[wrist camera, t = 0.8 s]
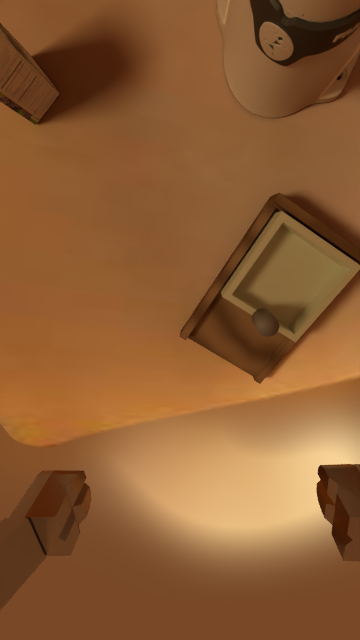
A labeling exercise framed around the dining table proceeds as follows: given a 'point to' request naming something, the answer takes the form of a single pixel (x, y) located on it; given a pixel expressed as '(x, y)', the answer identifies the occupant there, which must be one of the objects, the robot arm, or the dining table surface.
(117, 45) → the dining table surface
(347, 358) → the dining table surface
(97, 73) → the dining table surface
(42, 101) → the syrup box
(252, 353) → the bay
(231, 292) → the drawer
